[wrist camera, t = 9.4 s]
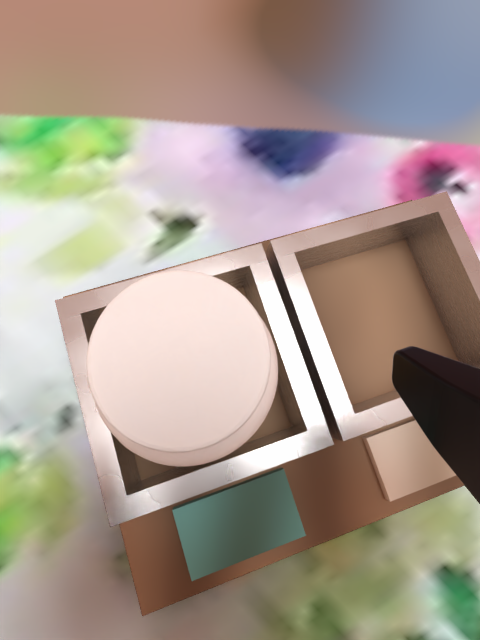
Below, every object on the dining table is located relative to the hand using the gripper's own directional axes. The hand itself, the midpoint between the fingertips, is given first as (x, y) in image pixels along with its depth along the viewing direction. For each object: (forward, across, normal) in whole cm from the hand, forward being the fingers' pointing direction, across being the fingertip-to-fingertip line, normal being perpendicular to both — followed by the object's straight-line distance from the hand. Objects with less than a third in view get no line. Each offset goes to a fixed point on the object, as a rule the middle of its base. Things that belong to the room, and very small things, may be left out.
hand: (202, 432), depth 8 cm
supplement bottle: (+8, 0, +6) cm, 10 cm away
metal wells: (+8, -5, +5) cm, 11 cm away
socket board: (+8, -5, +7) cm, 12 cm away
